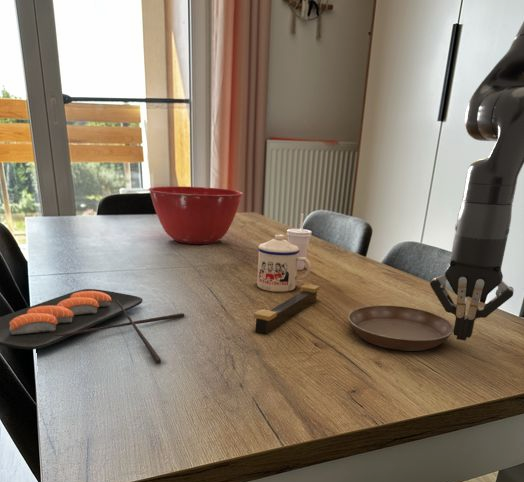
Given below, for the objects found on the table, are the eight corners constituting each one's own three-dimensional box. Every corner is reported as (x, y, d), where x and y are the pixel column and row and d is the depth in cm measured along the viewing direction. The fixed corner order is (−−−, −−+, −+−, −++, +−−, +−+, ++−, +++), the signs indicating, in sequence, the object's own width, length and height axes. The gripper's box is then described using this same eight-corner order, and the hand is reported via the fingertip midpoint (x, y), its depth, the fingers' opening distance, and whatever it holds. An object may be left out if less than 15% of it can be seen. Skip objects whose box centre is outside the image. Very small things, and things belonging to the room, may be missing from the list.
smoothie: (301, 272, 130) (306, 215, 125) (279, 268, 133) (283, 212, 128) (312, 267, 135) (317, 213, 130) (291, 264, 138) (295, 210, 133)
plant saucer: (371, 358, 80) (374, 340, 79) (332, 321, 96) (334, 305, 94) (472, 354, 84) (475, 336, 82) (418, 318, 100) (421, 303, 98)
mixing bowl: (161, 230, 176) (160, 183, 170) (243, 235, 176) (245, 188, 170) (139, 246, 150) (137, 191, 144) (237, 251, 150) (238, 196, 144)
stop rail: (318, 301, 107) (319, 285, 106) (268, 335, 87) (269, 316, 86) (305, 298, 108) (306, 283, 107) (252, 331, 88) (253, 313, 87)
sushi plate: (86, 296, 102) (85, 277, 101) (223, 321, 92) (224, 300, 91) (-42, 344, 77) (-46, 319, 75) (128, 384, 67) (127, 357, 66)
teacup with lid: (251, 289, 113) (253, 236, 108) (261, 280, 121) (264, 230, 116) (305, 296, 110) (309, 241, 106) (312, 286, 118) (316, 235, 114)
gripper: (529, 233, 79) (505, 338, 85) (440, 225, 84) (424, 325, 91) (529, 241, 73) (503, 354, 79) (432, 231, 78) (416, 338, 84)
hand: (461, 338), depth 85 cm, fingers closed
